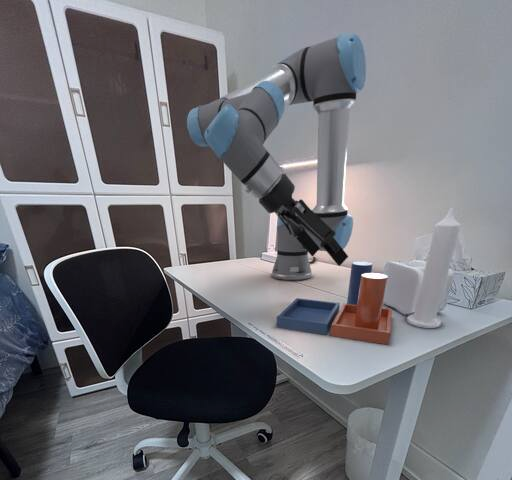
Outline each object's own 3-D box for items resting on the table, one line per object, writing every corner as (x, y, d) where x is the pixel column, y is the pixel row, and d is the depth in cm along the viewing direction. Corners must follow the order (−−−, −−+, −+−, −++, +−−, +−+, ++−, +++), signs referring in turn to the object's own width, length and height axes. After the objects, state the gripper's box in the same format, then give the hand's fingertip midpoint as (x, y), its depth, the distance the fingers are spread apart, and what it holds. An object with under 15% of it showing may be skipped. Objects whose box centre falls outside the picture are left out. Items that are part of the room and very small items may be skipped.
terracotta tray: (342, 312, 76) (343, 303, 75) (390, 318, 72) (392, 308, 70) (330, 335, 63) (331, 324, 62) (388, 344, 59) (390, 333, 58)
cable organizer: (375, 300, 85) (382, 259, 80) (408, 297, 87) (416, 258, 82) (408, 318, 72) (419, 271, 67) (446, 315, 73) (459, 268, 68)
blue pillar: (347, 304, 82) (353, 261, 77) (366, 306, 80) (373, 262, 75) (345, 309, 78) (350, 264, 73) (364, 312, 76) (371, 265, 71)
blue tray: (296, 307, 81) (296, 298, 79) (338, 312, 76) (339, 303, 75) (276, 327, 68) (276, 316, 67) (326, 335, 63) (327, 324, 62)
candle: (419, 315, 73) (445, 206, 62) (446, 324, 68) (481, 206, 57) (400, 320, 70) (424, 207, 60) (427, 330, 65) (460, 207, 54)
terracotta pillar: (355, 324, 67) (362, 272, 62) (378, 327, 65) (388, 274, 60) (352, 332, 63) (360, 277, 58) (376, 336, 61) (387, 279, 56)
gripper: (244, 201, 72) (297, 259, 82) (277, 199, 50) (344, 279, 60) (264, 176, 71) (316, 238, 81) (308, 164, 49) (371, 251, 59)
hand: (328, 256), depth 70 cm, fingers open, 13 cm apart
